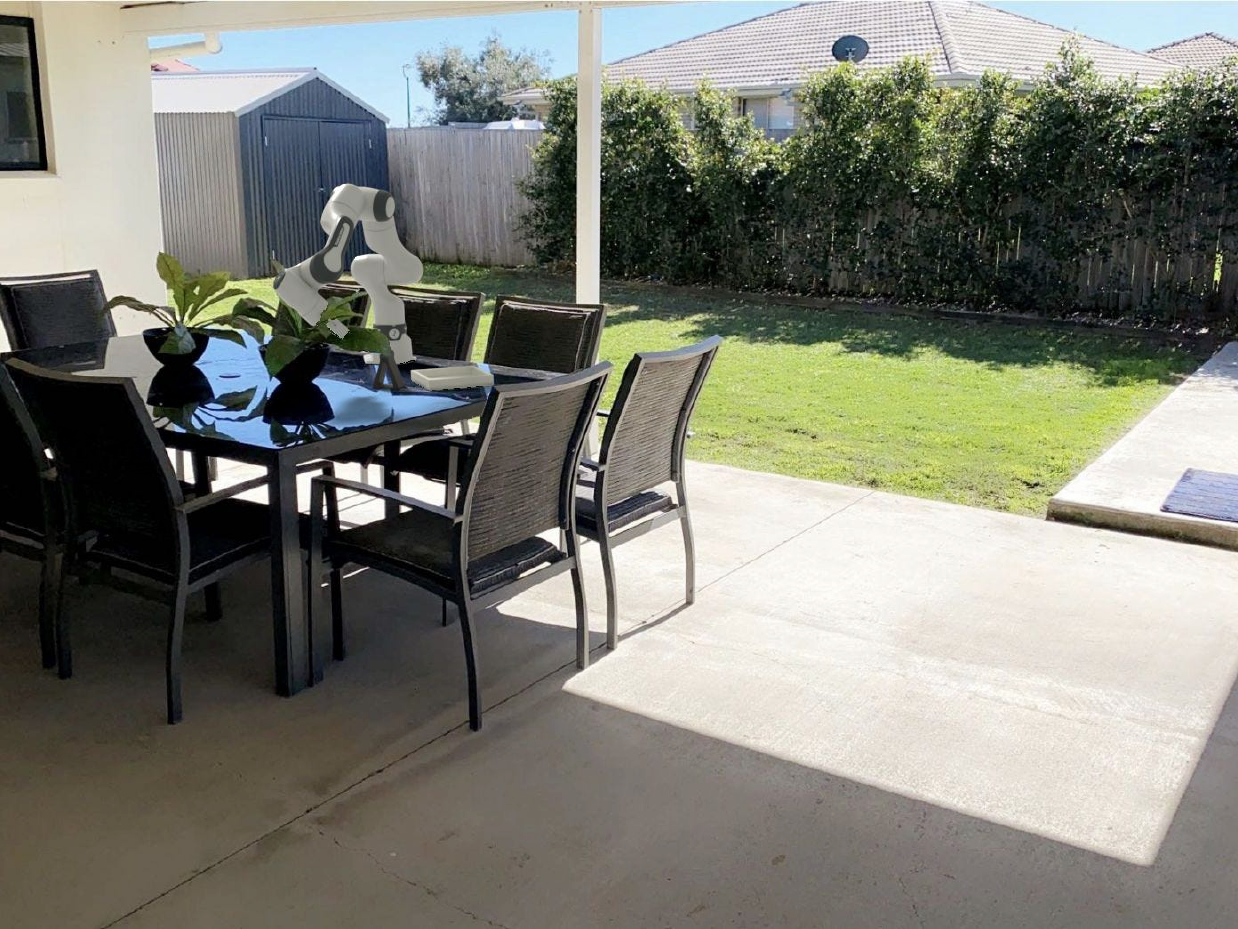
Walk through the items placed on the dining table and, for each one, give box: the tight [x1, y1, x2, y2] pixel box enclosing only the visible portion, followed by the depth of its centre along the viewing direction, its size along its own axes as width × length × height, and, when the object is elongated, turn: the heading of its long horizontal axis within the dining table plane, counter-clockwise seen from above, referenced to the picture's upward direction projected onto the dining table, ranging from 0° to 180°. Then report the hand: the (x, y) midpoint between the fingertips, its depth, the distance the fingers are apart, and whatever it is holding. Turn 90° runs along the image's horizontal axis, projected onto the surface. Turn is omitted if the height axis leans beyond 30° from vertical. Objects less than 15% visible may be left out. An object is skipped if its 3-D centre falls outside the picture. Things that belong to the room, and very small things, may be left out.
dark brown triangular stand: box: [371, 350, 405, 390], centre depth 376 cm, size 9×6×12 cm, turn 82°
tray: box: [410, 365, 495, 392], centre depth 384 cm, size 20×22×4 cm
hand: (350, 341), depth 369 cm, fingers open, 8 cm apart
